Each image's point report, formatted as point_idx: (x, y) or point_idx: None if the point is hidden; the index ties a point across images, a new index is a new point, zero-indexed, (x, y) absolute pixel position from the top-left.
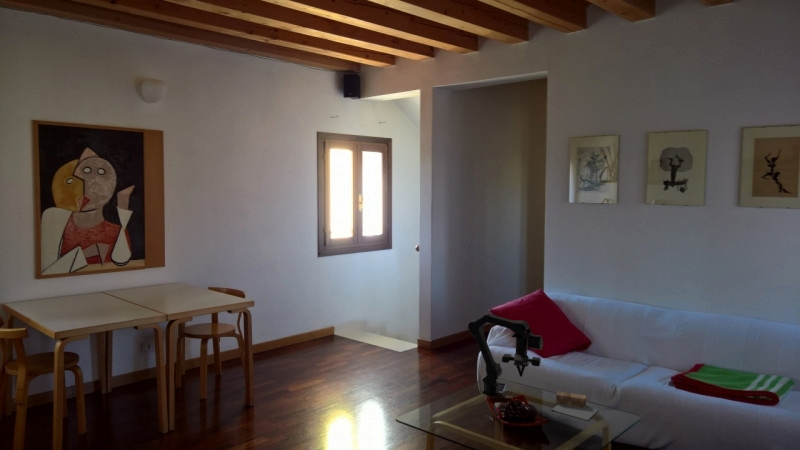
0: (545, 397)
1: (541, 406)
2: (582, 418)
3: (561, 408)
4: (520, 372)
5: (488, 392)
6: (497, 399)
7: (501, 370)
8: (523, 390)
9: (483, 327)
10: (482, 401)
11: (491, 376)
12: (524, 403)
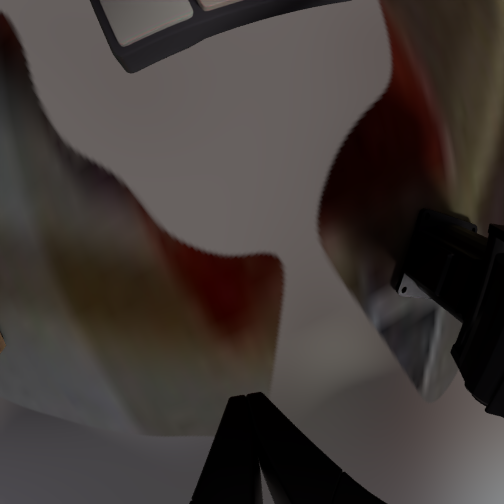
0: (78, 362)
1: (31, 200)
2: None
3: None
4: (266, 453)
5: (454, 224)
6: (383, 162)
7: (498, 390)
8: None
9: None
10: (451, 92)
11: None
12: (111, 40)
